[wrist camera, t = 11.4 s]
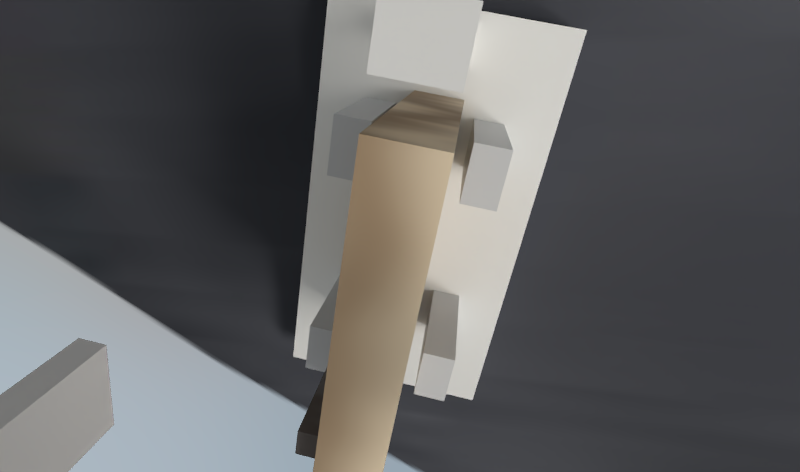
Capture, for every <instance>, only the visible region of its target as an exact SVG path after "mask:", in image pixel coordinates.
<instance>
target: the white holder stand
mask: <svg viewBox="0 0 800 472" xmlns="http://www.w3.org/2000/svg"><path fill="white" fill-rule="evenodd" d="M482 6H483V1H480V0H328V3H327V13H326V23H325V34H324V44H323V54H322V64H321V75H320V85H319V95H318V106H317V116H316V126H315V137H314V147H313V157H312V168H311V178H310V188H309V199H308V209H307V219H306V230H305V240H304V250H303V260H302V271H301V281H300V291H299V302H298V312H297V322H296V333H295V343H294V353H293V357H297V358H301V359H305V360H306V368H310V369H314V370H318V371H322V372H325V371H326V368H327V366H328V358H329V351H330V343H331V336H332V329H333V321H334V314H335V307H336V299H337V292H338V285H339V277H340V270H341V263H342V255H343V248H344V241H345V233H346V226H347V219H348V211H349V204H350V196H351V189H352V182H353V174H354V167H355V160H356V152H357V145H358V138H359V133H361V132H362V131H363V130H364V129H366V128H367V127H368V126H369V125H371V124H372V123H373V122H375V121H376V120H377V119H378V118H380V117H381V116H382V115H384V114H385V113H386V112H387V111H389V110H390V109H391V108H392V107H394V106H395V105H396V104H398V103H399V102H400V101H401V100H403V99H404V98H405V97H406V96H408V95H409V94H410V93H412V92H413V91H414V90H416V91H421V92H427V93H432V94H437V95H442V96H447V97H452V98H457V99H462V100H464V104H463V110H462V115H461V121H460V126H459V132H458V137H457V143H456V148H455V154H454V158H453V163H452V167H451V172H450V176H449V180H448V185H447V189H446V194H445V198H444V203H443V207H442V212H441V216H440V220H439V225H438V229H437V234H436V238H435V243H434V247H433V252H432V256H431V261H430V265H429V269H428V274H427V278H426V283H425V287H424V292H423V296H422V301H421V305H420V310H419V314H418V318H417V323H416V327H415V332H414V336H413V341H412V345H411V350H410V354H409V358H408V363H407V367H406V372H405V376H404V381H403V383H404V384H408V385H412V386H415V390H414V394H416V395H420V396H424V397H429V398H433V399H437V400H441V401H444V399H445V396H446V394H449V395H453V396H458V397H462V398H466V399H470V400H473V396H474V393H475V390H476V387H477V384H478V380H479V377H480V374H481V371H482V367H483V364H484V361H485V358H486V355H487V351H488V348H489V345H490V342H491V338H492V335H493V332H494V329H495V325H496V322H497V319H498V316H499V313H500V309H501V306H502V303H503V300H504V296H505V293H506V290H507V287H508V284H509V280H510V277H511V274H512V271H513V267H514V264H515V261H516V258H517V254H518V251H519V248H520V245H521V242H522V238H523V235H524V232H525V229H526V225H527V222H528V219H529V216H530V212H531V209H532V206H533V203H534V200H535V196H536V193H537V190H538V187H539V183H540V180H541V177H542V174H543V171H544V167H545V164H546V161H547V158H548V154H549V151H550V148H551V145H552V141H553V138H554V135H555V132H556V129H557V125H558V122H559V119H560V116H561V112H562V109H563V106H564V103H565V99H566V96H567V93H568V90H569V87H570V83H571V80H572V77H573V74H574V70H575V67H576V64H577V61H578V58H579V54H580V51H581V48H582V45H583V41H584V38H585V35H586V32H587V30H583V29H577V28H572V27H566V26H561V25H556V24H550V23H545V22H539V21H534V20H528V19H523V18H518V17H512V16H507V15H501V14H496V13H491V12H485V11H481V10H482Z"/></svg>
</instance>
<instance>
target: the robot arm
mask: <svg viewBox="0 0 800 472" xmlns="http://www.w3.org/2000/svg"><path fill="white" fill-rule="evenodd" d="M113 425H114V419H113V408H112V398H111V389H110V378H109V369H108V358H107V349H106V345H104V344H99V343H96V342H92V341H88V340H84V339H80V338H78V339H77V340H76V341H74V342H73V343H72V344H70V345H69V346H68V347H66V348H65V349H63V350H62V351H61V352H59V353H58V354H56V355H55V356H54V357H52V358H51V359H49V360H48V361H47V362H45V363H44V364H42V365H41V366H40V367H38V368H37V369H36V370H34V371H33V372H31V373H30V374H29V375H27V376H26V377H25V378H23V379H22V380H21V381H19V382H18V383H16V384H15V385H14V386H12V387H11V388H9V389H8V390H7V391H5V392H4V393H2V394H1V395H0V472H68V471H69V470H70V469H71V468H72V467H73V466H74V465H75V464H76V463H77V462H78V461H79V460H80V459H81V458H82V457H83V456H84V455H85V454H86V453H87V452H88V450H89V449H90V448H91V447H92V446H93V445H94V444H95V443H96V442H97V441H98V440H99V439H100V438H101V437H102V436H103V435H104V434H105V433H106V432H107V431H108V430H109V429H110V428H111V427H112V426H113Z"/></svg>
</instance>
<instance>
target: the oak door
mask: <svg viewBox="0 0 800 472" xmlns="http://www.w3.org/2000/svg"><path fill="white" fill-rule="evenodd" d="M463 104H464V100H462V99H457V98H452V97H447V96H442V95H437V94H432V93H427V92H421V91H416V90H414V91H413V92H412V93H410V94H409V95H408V96H406V97H405V98H404V99H403V100H401V101H400V102H399V103H398V104H396V105H395V106H394V107H392V108H391V109H390V110H389V111H387V112H386V113H385V114H384V115H382V116H381V117H380V118H378V119H377V120H376V121H375V122H373V123H372V124H371V125H369V126H368V127H367V128H366V129H364V130H363V131H362V132H361V133H359V138H358V145H357V152H356V160H355V167H354V174H353V182H352V189H351V196H350V204H349V211H348V219H347V226H346V233H345V241H344V248H343V255H342V263H341V270H340V277H339V285H338V292H337V299H336V307H335V314H334V321H333V329H332V336H331V343H330V351H329V358H328V366H327V368H326V371H325V373H324V375H323V377H322V379H321V382H320V384H319V386H318V388H317V390H316V393H315V395H314V397H313V399H312V401H311V404H310V406H309V408H308V410H307V412H306V415H305V417H304V419H303V421H302V423H301V425H300V428H299V430H298V435H297V444H296V454H300V455H303V456H308V457H311V458H315V461H314V468H313V472H383V470H384V465H385V461H386V456H387V452H388V448H389V443H390V439H391V434H392V430H393V425H394V421H395V416H396V412H397V407H398V403H399V399H400V394H401V390H402V385H403V381H404V376H405V372H406V367H407V363H408V358H409V354H410V350H411V345H412V341H413V336H414V332H415V327H416V323H417V318H418V314H419V310H420V305H421V301H422V296H423V292H424V287H425V283H426V278H427V274H428V269H429V265H430V261H431V256H432V252H433V247H434V243H435V238H436V234H437V229H438V225H439V220H440V216H441V212H442V207H443V203H444V198H445V194H446V189H447V185H448V180H449V176H450V172H451V167H452V163H453V158H454V154H455V148H456V143H457V137H458V132H459V126H460V121H461V115H462V110H463Z"/></svg>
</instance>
